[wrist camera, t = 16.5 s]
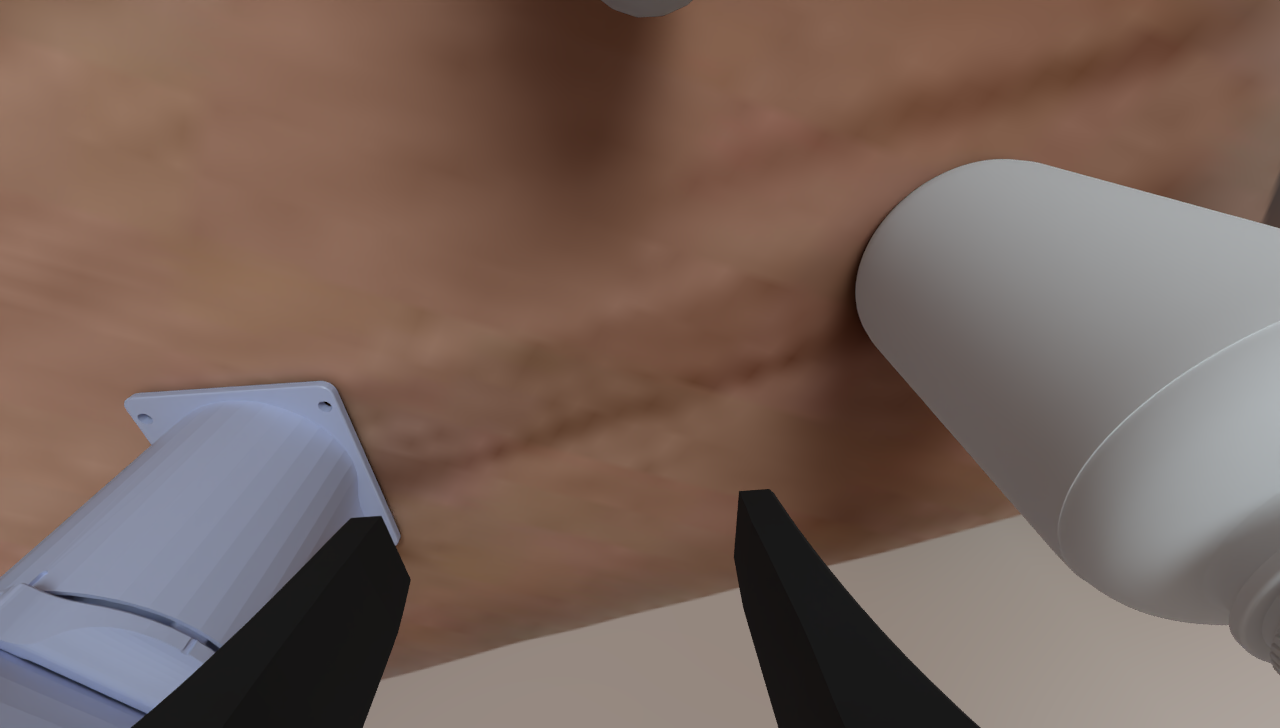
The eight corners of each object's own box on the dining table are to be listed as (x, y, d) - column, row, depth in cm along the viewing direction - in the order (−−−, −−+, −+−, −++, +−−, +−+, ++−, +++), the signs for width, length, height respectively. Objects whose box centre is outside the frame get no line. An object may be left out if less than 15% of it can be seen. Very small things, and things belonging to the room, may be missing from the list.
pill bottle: (962, 104, 16) (2231, 316, 4) (1111, 225, 19) (2186, 609, 6) (803, 304, 20) (1158, 775, 7) (946, 385, 22) (1403, 843, 9)
